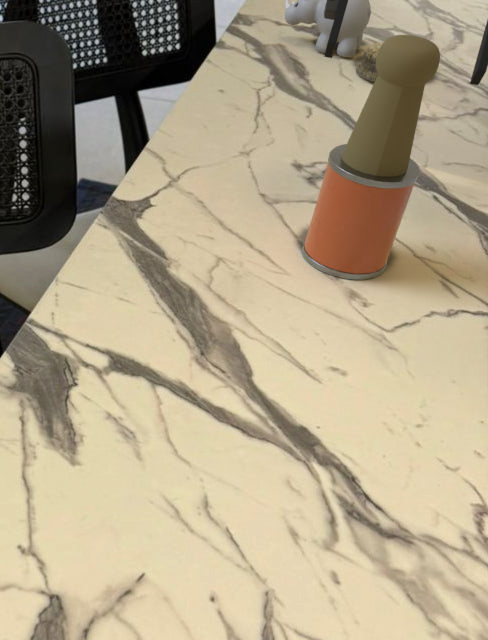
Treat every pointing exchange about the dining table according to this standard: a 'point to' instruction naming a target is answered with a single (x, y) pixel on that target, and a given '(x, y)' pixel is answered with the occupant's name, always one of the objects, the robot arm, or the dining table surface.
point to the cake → (369, 63)
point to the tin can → (356, 219)
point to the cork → (392, 107)
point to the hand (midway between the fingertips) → (402, 64)
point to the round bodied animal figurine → (351, 29)
